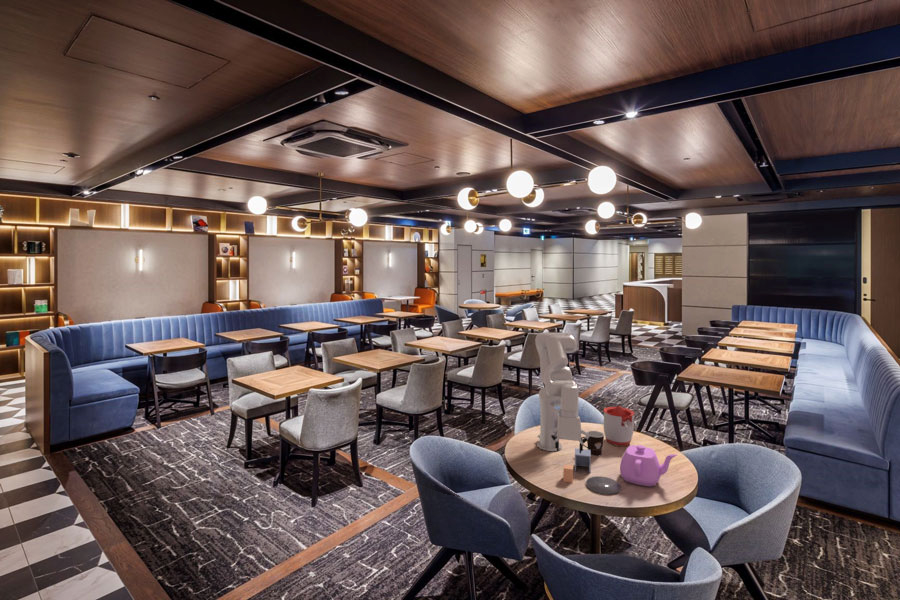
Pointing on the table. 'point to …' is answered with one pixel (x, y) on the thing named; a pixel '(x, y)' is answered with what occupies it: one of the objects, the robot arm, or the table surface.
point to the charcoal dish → (603, 485)
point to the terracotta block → (568, 473)
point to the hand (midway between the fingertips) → (569, 451)
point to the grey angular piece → (583, 458)
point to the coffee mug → (595, 442)
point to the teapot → (642, 465)
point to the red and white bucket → (618, 425)
